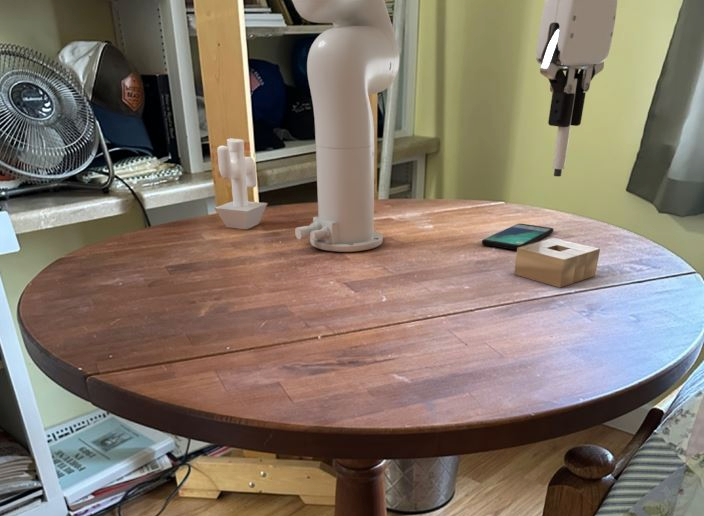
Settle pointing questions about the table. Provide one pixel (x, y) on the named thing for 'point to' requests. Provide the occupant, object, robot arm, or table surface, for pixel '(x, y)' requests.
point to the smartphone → (517, 236)
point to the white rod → (562, 143)
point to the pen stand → (556, 262)
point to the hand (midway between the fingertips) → (564, 124)
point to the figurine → (238, 186)
